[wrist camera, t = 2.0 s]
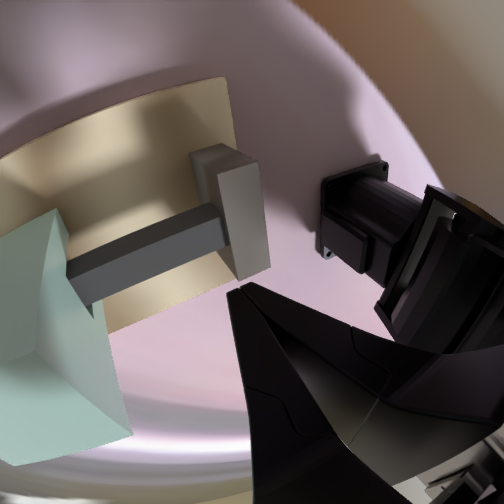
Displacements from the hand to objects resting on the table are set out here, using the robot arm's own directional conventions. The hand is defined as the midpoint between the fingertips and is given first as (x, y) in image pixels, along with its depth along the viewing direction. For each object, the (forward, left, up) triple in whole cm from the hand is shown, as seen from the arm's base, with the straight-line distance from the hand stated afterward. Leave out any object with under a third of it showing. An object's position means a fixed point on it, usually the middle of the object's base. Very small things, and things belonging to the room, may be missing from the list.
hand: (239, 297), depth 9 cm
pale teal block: (+8, 0, -6) cm, 10 cm away
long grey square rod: (+12, 0, -5) cm, 13 cm away
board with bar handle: (+12, 0, -8) cm, 14 cm away
